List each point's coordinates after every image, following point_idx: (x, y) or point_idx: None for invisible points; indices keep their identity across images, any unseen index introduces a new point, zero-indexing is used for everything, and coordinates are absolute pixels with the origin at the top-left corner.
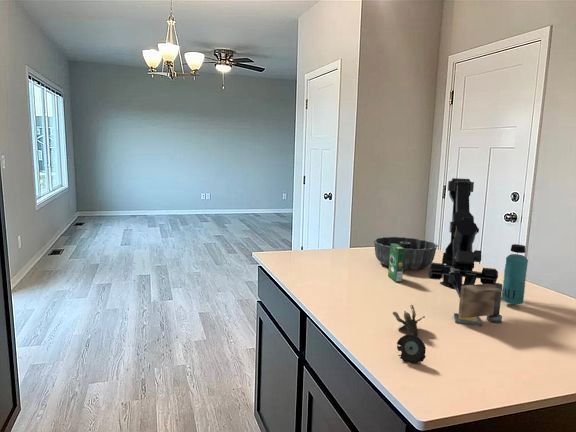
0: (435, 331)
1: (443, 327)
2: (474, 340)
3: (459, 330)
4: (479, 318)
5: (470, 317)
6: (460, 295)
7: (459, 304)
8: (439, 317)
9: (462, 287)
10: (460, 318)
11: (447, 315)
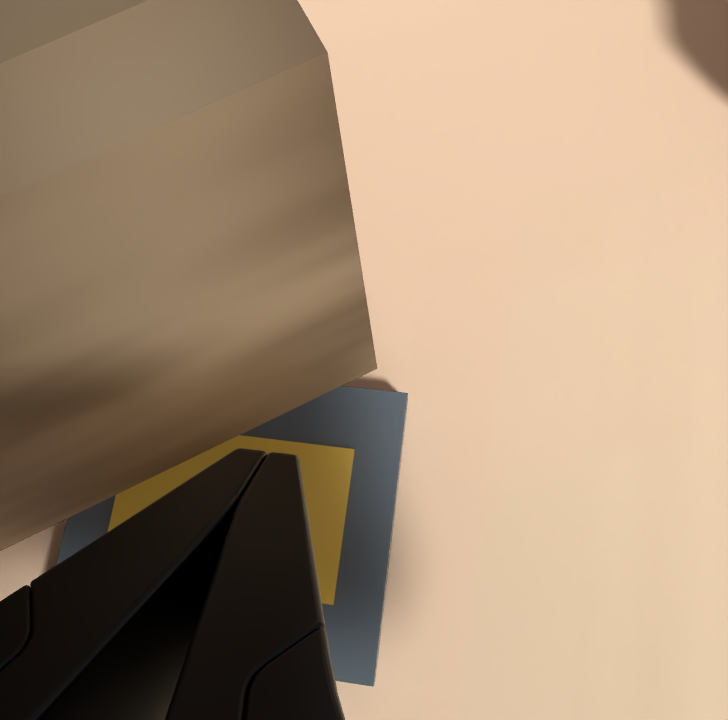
0: (658, 111)
1: (564, 231)
2: (309, 17)
3: (401, 197)
4: (68, 545)
5: None
6: (350, 210)
7: (366, 301)
8: (586, 541)
9: (299, 23)
10: (330, 461)
11: (466, 653)
